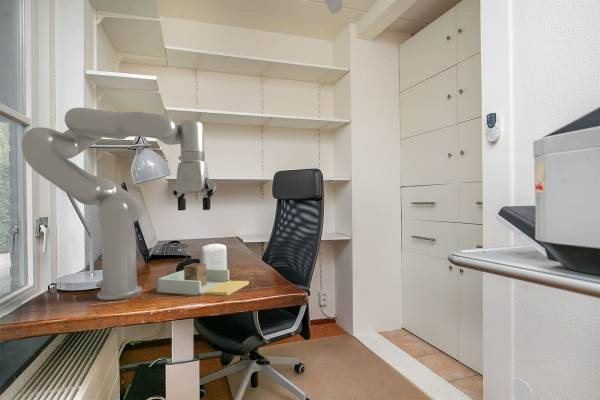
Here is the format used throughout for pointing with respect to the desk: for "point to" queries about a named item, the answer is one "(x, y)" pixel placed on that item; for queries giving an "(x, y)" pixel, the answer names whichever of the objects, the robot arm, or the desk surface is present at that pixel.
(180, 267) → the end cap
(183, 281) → the pale green tray
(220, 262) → the photo printer
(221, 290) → the tailgate
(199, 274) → the walnut block
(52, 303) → the desk surface
